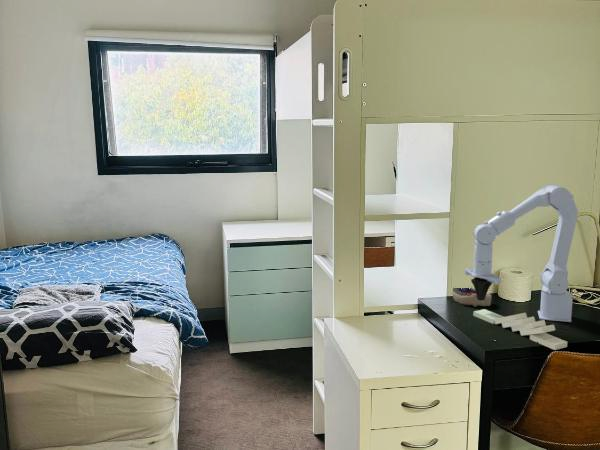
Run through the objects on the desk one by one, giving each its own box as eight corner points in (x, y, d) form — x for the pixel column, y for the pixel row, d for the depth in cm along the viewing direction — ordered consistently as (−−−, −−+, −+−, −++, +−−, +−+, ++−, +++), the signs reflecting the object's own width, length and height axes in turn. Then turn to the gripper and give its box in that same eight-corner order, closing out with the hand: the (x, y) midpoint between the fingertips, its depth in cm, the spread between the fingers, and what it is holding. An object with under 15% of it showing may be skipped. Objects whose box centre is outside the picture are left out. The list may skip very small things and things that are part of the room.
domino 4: (511, 326, 172) (532, 322, 164) (523, 323, 174) (544, 320, 166) (512, 331, 172) (533, 328, 164) (524, 328, 173) (546, 325, 165)
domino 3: (501, 322, 175) (521, 318, 167) (513, 320, 177) (534, 316, 169) (502, 327, 175) (523, 324, 167) (514, 325, 177) (535, 321, 169)
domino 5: (519, 330, 169) (541, 327, 161) (532, 327, 171) (554, 324, 162) (521, 335, 168) (542, 333, 160) (533, 332, 170) (555, 330, 162)
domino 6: (530, 334, 165) (555, 344, 157) (542, 331, 167) (567, 341, 159) (529, 339, 166) (554, 350, 157) (541, 336, 168) (567, 347, 159)
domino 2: (494, 319, 178) (513, 315, 170) (505, 316, 180) (525, 312, 172) (495, 324, 178) (515, 320, 170) (507, 321, 180) (527, 317, 172)
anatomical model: (476, 294, 210) (477, 282, 209) (497, 307, 194) (498, 295, 193) (446, 296, 208) (447, 284, 207) (465, 310, 193) (465, 297, 192)
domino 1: (473, 311, 186) (493, 319, 178) (484, 309, 188) (504, 317, 180) (473, 315, 186) (493, 324, 178) (484, 313, 189) (504, 321, 181)
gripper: (458, 257, 188) (457, 295, 191) (490, 267, 175) (488, 307, 178) (474, 255, 191) (472, 292, 194) (506, 264, 178) (504, 304, 181)
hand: (481, 299), depth 186 cm, fingers closed
